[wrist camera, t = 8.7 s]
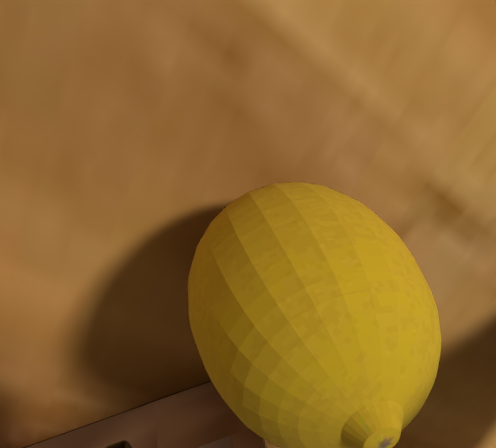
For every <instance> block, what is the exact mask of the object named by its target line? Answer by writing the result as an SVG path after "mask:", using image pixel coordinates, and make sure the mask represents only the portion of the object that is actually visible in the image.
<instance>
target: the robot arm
mask: <svg viewBox="0 0 496 448" xmlns="http://www.w3.org/2000/svg"><path fill="white" fill-rule="evenodd" d="M106 448H132V447H131V445H130V444H129V442H128V441H126V440H123V441H120V442H117V443H114V444H111V445H109V446H107V447H106Z"/></svg>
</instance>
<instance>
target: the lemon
mask: <svg viewBox="0 0 496 448" xmlns="http://www.w3.org/2000/svg"><path fill="white" fill-rule="evenodd" d="M188 307H189V320H190V327H191V330H192V334H193V337H194V340H195V343H196V345H197V348H198V351H199V354H200V356H201V359H202V362H203V364H204V367H205V369H206V371H207V373H208V375H209V377H210V379H211V381H212V383H213V384H214V386H215V388H216V389H217V391H218V392H219V394H220V395H221V397H222V398H223V400H224V401H225V402H226V403H227V405H228V406H229V407H230V408H231V409H232V411H233V412H234V413H235V414H236V415H237V417H238V418H239V419H240V420H241V421H242V422H243V423H244V424H245V425H246V426H247V427H248V428H249V429H250V430H252V431H253V432H255V433H256V434H257V435H259V436H260V437H262V438H264V439H265V440H267V441H269V442H271V443H272V444H274V445H276V446H278V447H281V448H392V447H393V446H394V445H396V443H397V442H398V441H399V438H400V434H401V431H402V430H403V429H404V428H405V427H407V426H408V425H409V424H410V423H411V422H412V420H413V419H414V418H415V416H416V415H417V414H418V412H419V411H420V410H421V408H422V406H423V405H424V403H425V402H426V399H427V397H428V395H429V393H430V391H431V389H432V387H433V384H434V381H435V378H436V375H437V371H438V365H439V360H440V353H441V345H442V342H441V332H440V324H439V316H438V310H437V307H436V303H435V300H434V297H433V295H432V292H431V290H430V288H429V286H428V284H427V282H426V280H425V278H424V276H423V274H422V272H421V270H420V268H419V267H418V265H417V263H416V261H415V259H414V258H413V256H412V254H411V253H410V251H409V250H408V248H407V247H406V245H405V244H404V243H403V241H402V240H401V239H400V237H399V236H398V235H397V234H396V233H395V232H394V231H393V230H392V229H391V228H390V227H389V226H388V225H387V224H386V223H385V222H383V221H382V220H381V219H380V218H379V217H378V216H377V215H376V214H375V213H373V212H372V211H371V210H370V209H369V208H367V207H366V206H365V205H363V204H362V203H360V202H358V201H357V200H355V199H353V198H350V197H348V196H346V195H344V194H342V193H339V192H337V191H335V190H333V189H330V188H328V187H325V186H321V185H315V184H308V183H301V182H288V183H279V184H270V185H267V186H264V187H261V188H259V189H256V190H253V191H250V192H248V193H246V194H244V195H243V196H241V197H240V198H238V199H236V200H235V201H233V202H232V203H230V204H229V205H227V206H226V207H225V208H224V209H223V210H222V211H221V212H220V213H219V214H218V215H217V216H216V217H215V218H214V219H213V220H212V221H211V223H210V225H209V226H208V228H207V230H206V231H205V233H204V235H203V236H202V238H201V240H200V242H199V243H198V245H197V248H196V251H195V255H194V258H193V262H192V265H191V269H190V273H189V278H188Z"/></svg>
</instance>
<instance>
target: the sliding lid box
mask: <svg viewBox="0 0 496 448" xmlns="http://www.w3.org/2000/svg"><path fill="white" fill-rule="evenodd" d="M123 440H126V441H128V442H129V444H130V445H131V447H132V448H267V447H266V444H265V441H264V438H262V437H260V436H259V435H257V434H256V433H255V432H253V431H252V430H250V429H249V428H248V427H247V426H246V425H245V424H244V423H243V422H242V421H241V420H240V419H239V418H238V417H237V415H236V414H235V413H234V412H233V411H232V409H231V408H230V407H229V406H228V405H227V403H226V402H225V401H224V400H223V398H222V397H221V395H220V394H219V392H218V391H217V389H216V388H215V386H214V384H213V383H212V381H211V382H208V383H205V384H202V385H200V386H197V387H194V388H191V389H188V390H186V391H183V392H180V393H177V394H174V395H172V396H169V397H166V398H163V399H160V400H158V401H155V402H152V403H149V404H146V405H144V406H141V407H138V408H135V409H132V410H130V411H127V412H124V413H121V414H118V415H116V416H113V417H110V418H107V419H104V420H102V421H99V422H96V423H93V424H90V425H88V426H85V427H82V428H79V429H76V430H74V431H71V432H68V433H65V434H62V435H60V436H57V437H54V438H51V439H48V440H46V441H43V442H40V443H37V444H34V445H32V446H29V447H26V448H106V447H107V446H109V445H111V444H114V443H117V442H120V441H123Z"/></svg>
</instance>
